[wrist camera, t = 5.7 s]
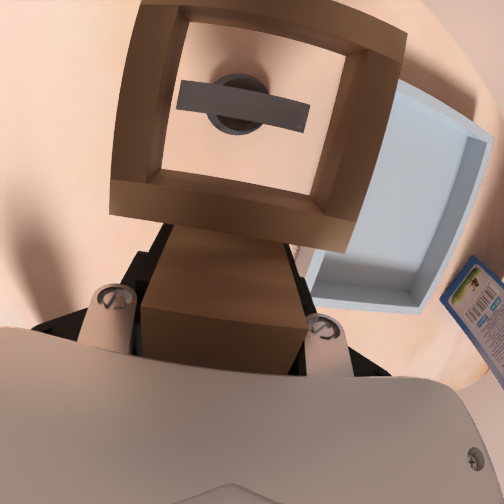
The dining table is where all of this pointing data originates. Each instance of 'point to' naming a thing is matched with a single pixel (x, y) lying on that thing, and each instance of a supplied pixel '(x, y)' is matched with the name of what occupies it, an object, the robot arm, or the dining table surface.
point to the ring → (244, 185)
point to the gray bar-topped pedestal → (241, 105)
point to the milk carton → (480, 312)
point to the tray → (405, 211)
